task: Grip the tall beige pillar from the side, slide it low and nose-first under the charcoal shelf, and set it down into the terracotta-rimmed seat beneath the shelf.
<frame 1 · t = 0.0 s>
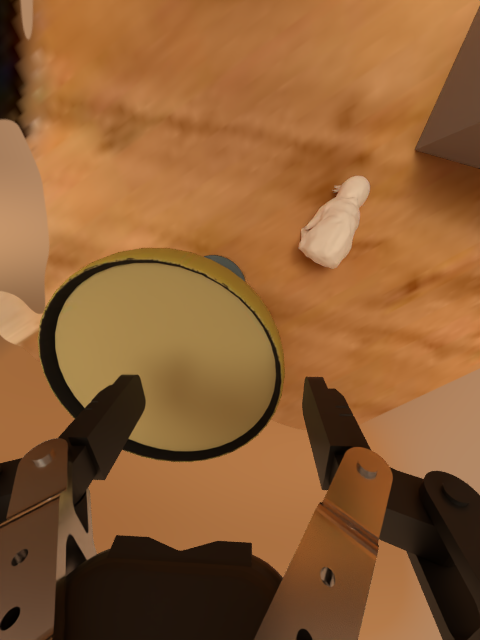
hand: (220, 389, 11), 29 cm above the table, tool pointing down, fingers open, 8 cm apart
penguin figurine: (328, 220, 35), on the table
cocktail glass: (214, 287, 40), on the table
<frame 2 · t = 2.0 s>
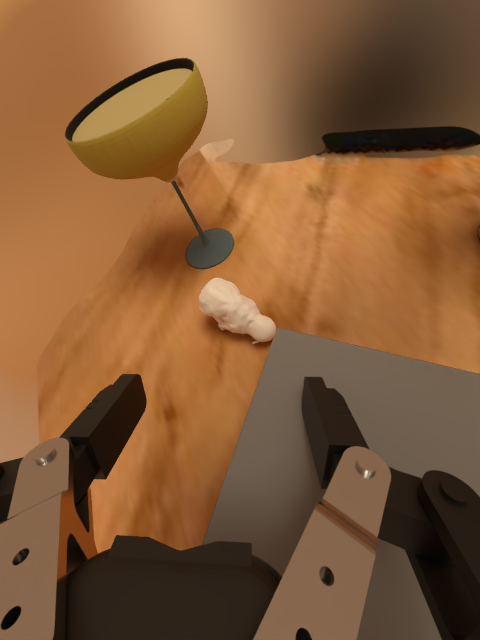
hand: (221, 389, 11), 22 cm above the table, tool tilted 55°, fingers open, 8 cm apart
shelf: (340, 557, 23), on the table
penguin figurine: (246, 325, 38), on the table
cocktail glass: (209, 249, 49), on the table
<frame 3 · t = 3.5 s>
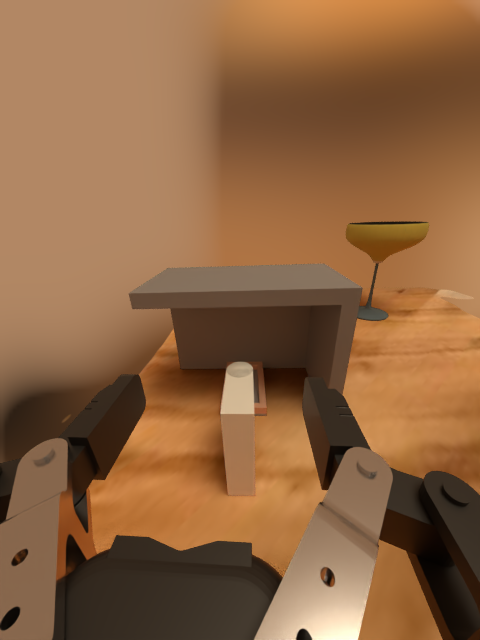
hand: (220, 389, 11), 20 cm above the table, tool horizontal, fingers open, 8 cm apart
shelf: (244, 388, 41), on the table
tall beige pillar: (242, 460, 29), on the table
cocktail glass: (366, 313, 69), on the table
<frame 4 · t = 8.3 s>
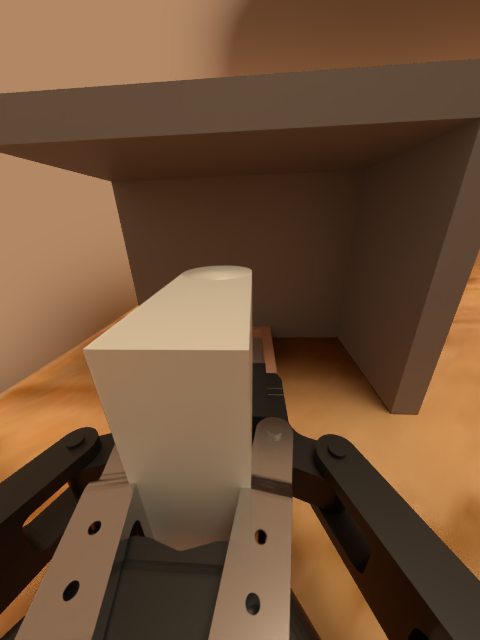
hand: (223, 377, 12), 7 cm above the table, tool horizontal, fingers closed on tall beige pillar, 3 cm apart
shelf: (240, 363, 24), on the table
tall beige pillar: (225, 502, 13), on the table, touching gripper
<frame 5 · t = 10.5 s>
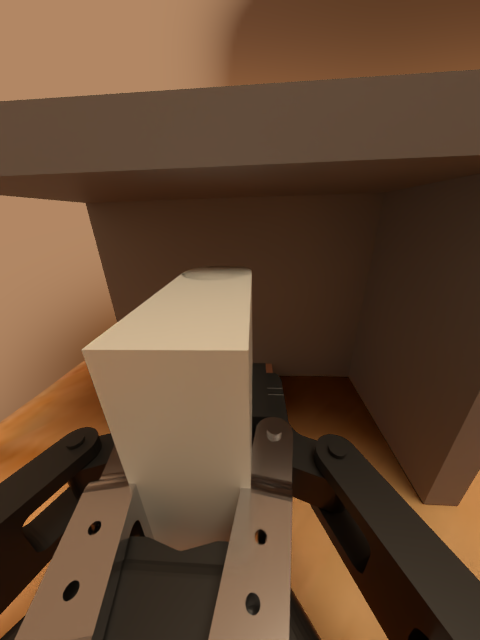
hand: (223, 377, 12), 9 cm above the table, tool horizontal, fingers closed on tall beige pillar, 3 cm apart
shelf: (236, 416, 21), on the table
tall beige pillar: (225, 502, 13), point 2 cm above the table, touching gripper
when the fingers open (8 cm above the table, at t = 12.9 s): tall beige pillar stays where it is, resting on shelf.
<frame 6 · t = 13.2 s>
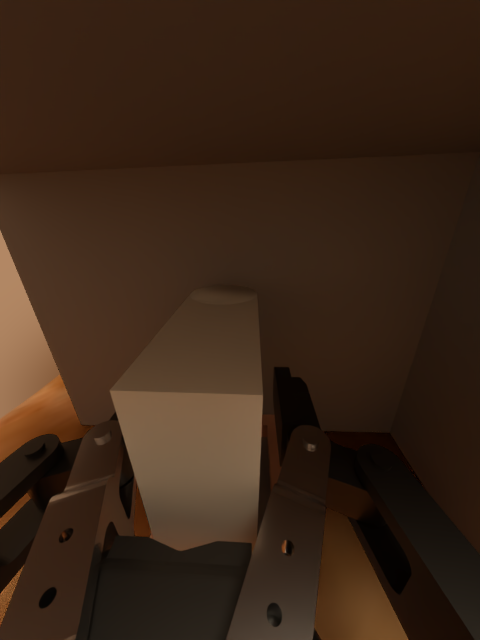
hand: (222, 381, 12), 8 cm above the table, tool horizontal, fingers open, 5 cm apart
shelf: (227, 516, 13), on the table
tall beige pillar: (226, 512, 13), resting on shelf
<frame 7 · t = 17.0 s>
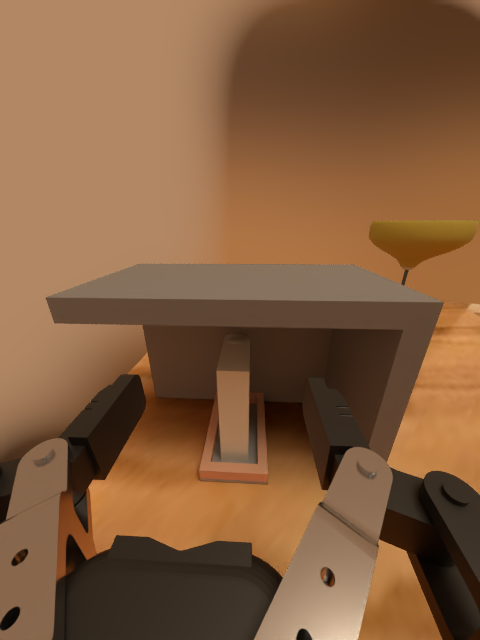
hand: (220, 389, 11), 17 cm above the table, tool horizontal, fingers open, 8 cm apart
shelf: (237, 433, 29), on the table
tall beige pillar: (236, 431, 29), resting on shelf
cocktail glass: (390, 330, 58), on the table
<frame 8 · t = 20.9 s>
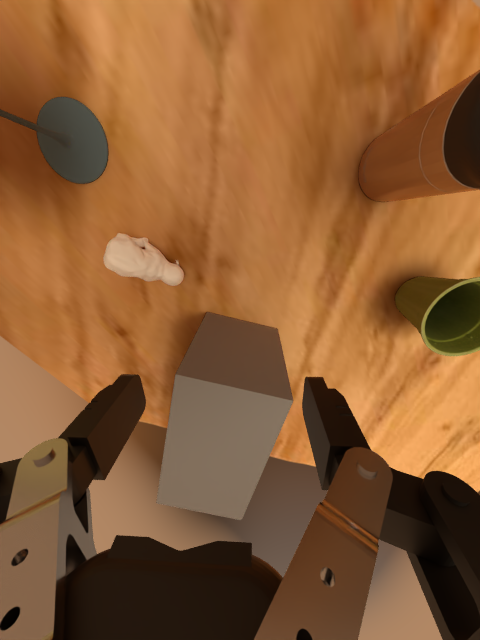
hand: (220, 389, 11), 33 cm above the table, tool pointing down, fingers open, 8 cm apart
plant pot: (414, 294, 42), on the table
shelf: (231, 376, 52), on the table
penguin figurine: (157, 260, 42), on the table
cocktail glass: (74, 143, 36), on the table
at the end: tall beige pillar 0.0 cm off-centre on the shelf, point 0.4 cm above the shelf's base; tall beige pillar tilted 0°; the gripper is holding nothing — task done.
